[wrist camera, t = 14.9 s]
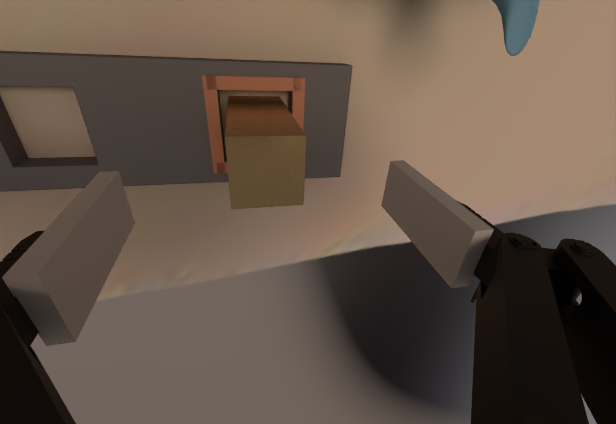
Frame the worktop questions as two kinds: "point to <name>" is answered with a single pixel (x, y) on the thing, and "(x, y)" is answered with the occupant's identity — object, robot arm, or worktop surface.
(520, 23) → the teakettle
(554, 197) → the worktop surface
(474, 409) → the robot arm
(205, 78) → the dark grey flat board
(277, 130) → the wooden peg
